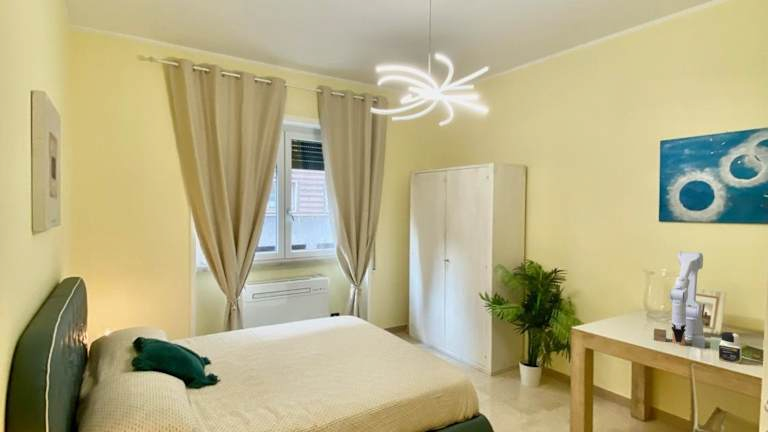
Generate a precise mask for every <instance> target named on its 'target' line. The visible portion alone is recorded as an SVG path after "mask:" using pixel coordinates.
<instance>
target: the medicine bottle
mask: <svg viewBox="0 0 768 432" xmlns="http://www.w3.org/2000/svg"><path fill="white" fill-rule="evenodd" d="M721 338H722V341H721V342H720V344H719V351H718V360H719V361H723V362H729V363H732V364H738V365H740V364H741V361H742V360H743V359H742V357H743V356H742V354H743V353H742V349H743V348H742V345H743V344H742V343H740V335H739V334H737V333H735V332H730V331H723V332H722V333H721Z"/></svg>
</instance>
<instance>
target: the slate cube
mask: <svg viewBox="0 0 768 432" xmlns="http://www.w3.org/2000/svg"><path fill="white" fill-rule="evenodd" d="M691 347H695V348H699V349H700V348H701V349H705V348H706V336H705V335H704V334H703V335H697V334H692V338H691Z"/></svg>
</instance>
